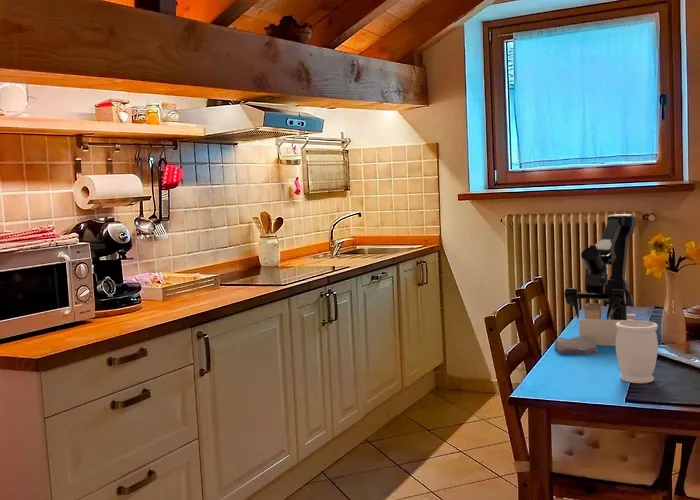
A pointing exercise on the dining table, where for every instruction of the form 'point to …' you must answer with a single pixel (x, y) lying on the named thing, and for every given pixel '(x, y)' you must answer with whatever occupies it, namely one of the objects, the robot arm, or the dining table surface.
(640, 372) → the jar
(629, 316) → the hinge post
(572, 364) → the dining table surface
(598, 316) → the block
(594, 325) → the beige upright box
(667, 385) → the dining table surface
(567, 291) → the robot arm
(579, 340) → the stone block
